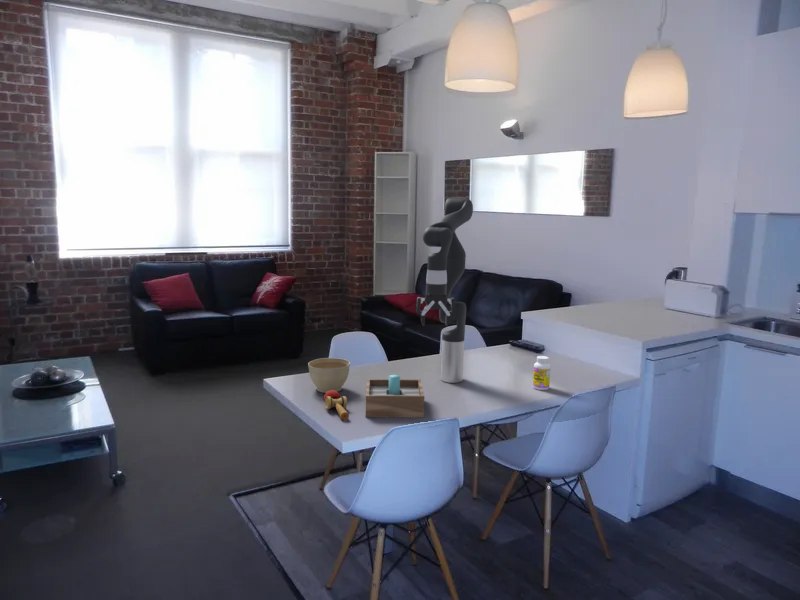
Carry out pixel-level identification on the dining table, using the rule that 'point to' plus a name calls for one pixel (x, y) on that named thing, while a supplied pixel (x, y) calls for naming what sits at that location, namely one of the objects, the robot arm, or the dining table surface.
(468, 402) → the dining table surface
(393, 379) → the peg
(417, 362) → the dining table surface
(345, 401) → the kendama
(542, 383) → the supplement bottle
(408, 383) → the bore box
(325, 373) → the planter bowl
